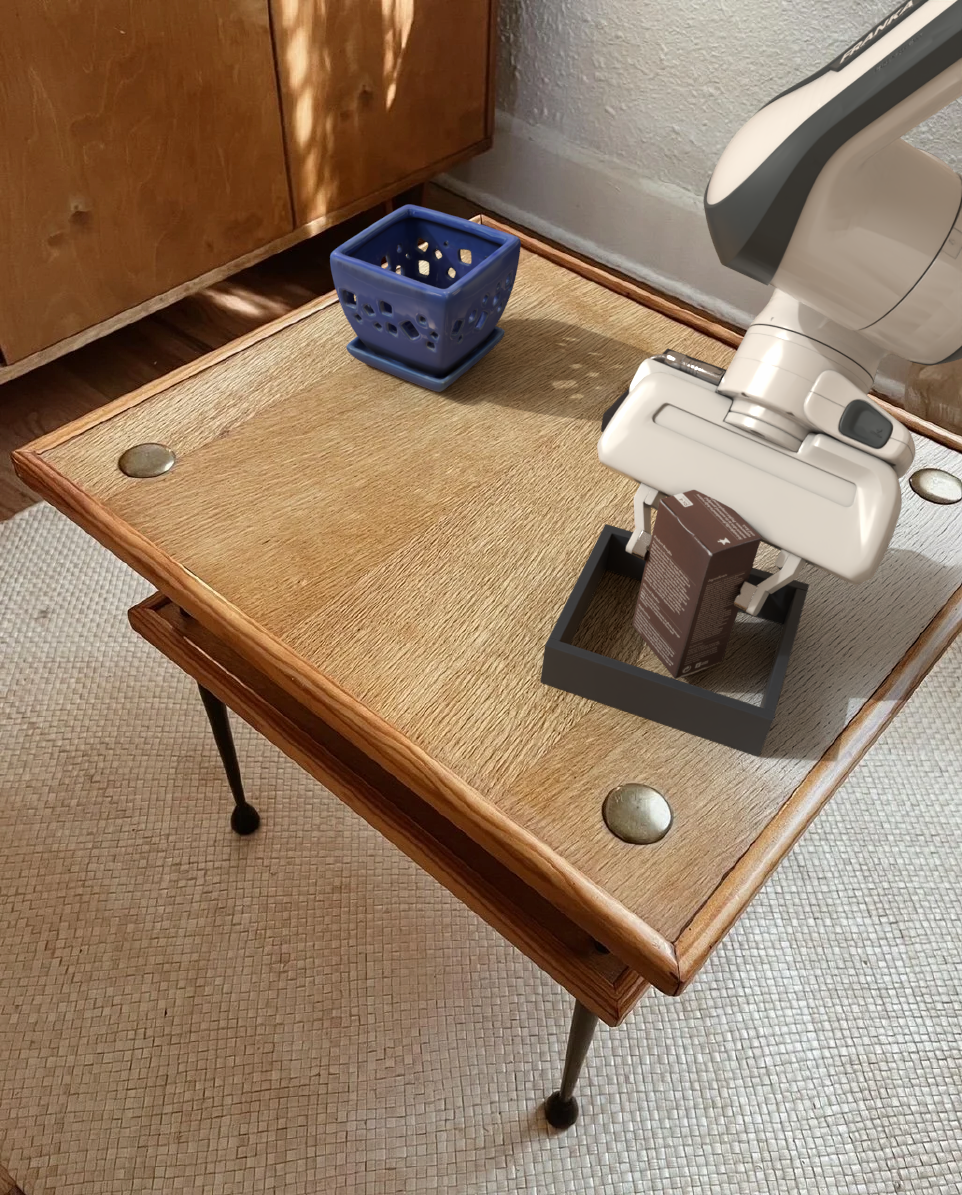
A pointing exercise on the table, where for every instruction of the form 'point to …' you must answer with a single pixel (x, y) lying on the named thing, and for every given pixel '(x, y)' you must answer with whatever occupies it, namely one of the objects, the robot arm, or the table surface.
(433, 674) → the table surface
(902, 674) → the table surface
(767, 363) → the robot arm
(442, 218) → the flower pot
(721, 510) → the box
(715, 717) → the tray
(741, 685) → the table surface
